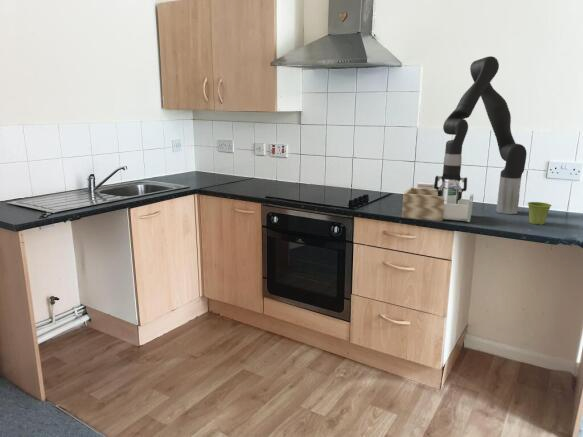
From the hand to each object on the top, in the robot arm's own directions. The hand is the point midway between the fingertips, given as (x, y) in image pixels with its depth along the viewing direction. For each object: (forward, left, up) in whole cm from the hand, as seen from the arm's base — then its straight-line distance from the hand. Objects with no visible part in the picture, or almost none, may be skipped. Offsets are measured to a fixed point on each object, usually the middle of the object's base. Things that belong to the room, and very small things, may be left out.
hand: (449, 199), depth 219 cm
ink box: (+14, -23, -9) cm, 28 cm away
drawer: (-1, 0, -8) cm, 8 cm away
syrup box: (0, 0, -5) cm, 5 cm away
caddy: (+11, 0, -9) cm, 14 cm away
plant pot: (-37, -5, -9) cm, 39 cm away
